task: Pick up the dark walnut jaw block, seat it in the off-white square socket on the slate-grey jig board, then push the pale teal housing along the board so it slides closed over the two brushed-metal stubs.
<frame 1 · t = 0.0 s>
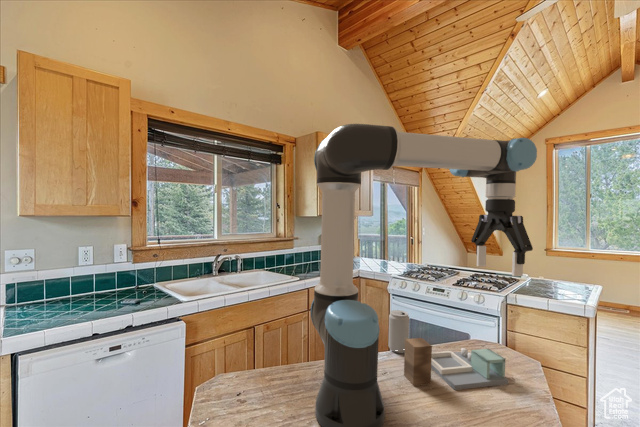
hand: (497, 270, 89), 28 cm above the countertop, fingers open, 13 cm apart
beverage can: (398, 350, 98), on the countertop
jig board: (461, 370, 86), on the countertop
housing: (487, 362, 83), point 4 cm above the countertop, slide at 0.0 cm
jaw block: (417, 379, 81), on the countertop
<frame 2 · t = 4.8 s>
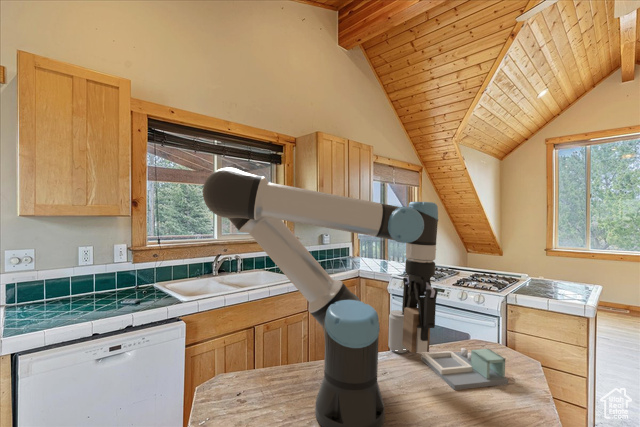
hand: (415, 346, 81), 9 cm above the countertop, fingers closed on jaw block, 5 cm apart
jaw block: (415, 347, 81), point 8 cm above the countertop, touching gripper
everything else where it was.
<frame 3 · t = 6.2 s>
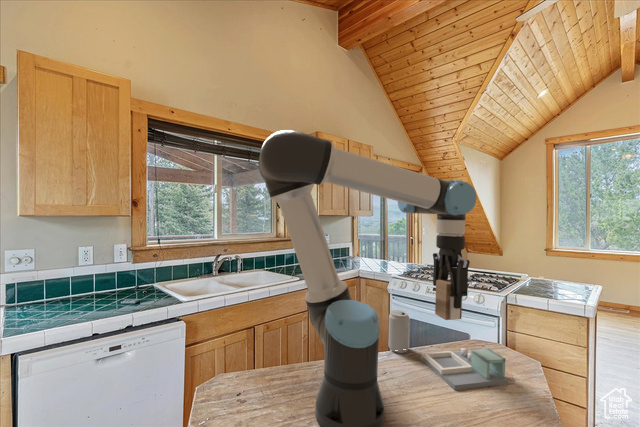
hand: (448, 315, 87), 15 cm above the countertop, fingers closed on jaw block, 5 cm apart
jaw block: (447, 316, 87), point 15 cm above the countertop, touching gripper
everything else where it was.
when the fingers open (3 cm above the countertop, at t = 8.2 s): jaw block drops 1 cm, resting on jig board.
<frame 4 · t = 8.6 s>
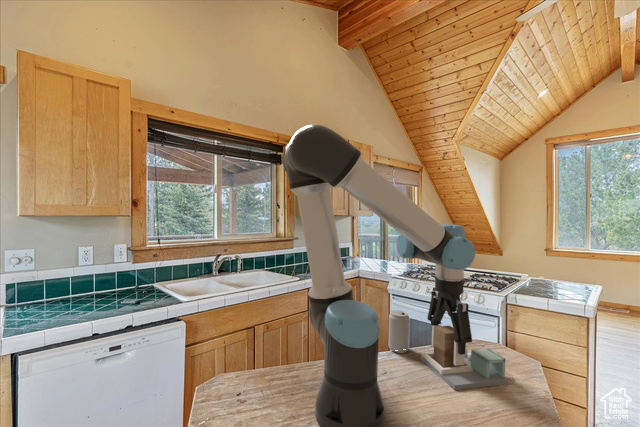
hand: (446, 355, 87), 4 cm above the countertop, fingers open, 10 cm apart
jaw block: (446, 363, 87), point 1 cm above the countertop, touching jig board
everything else where it was.
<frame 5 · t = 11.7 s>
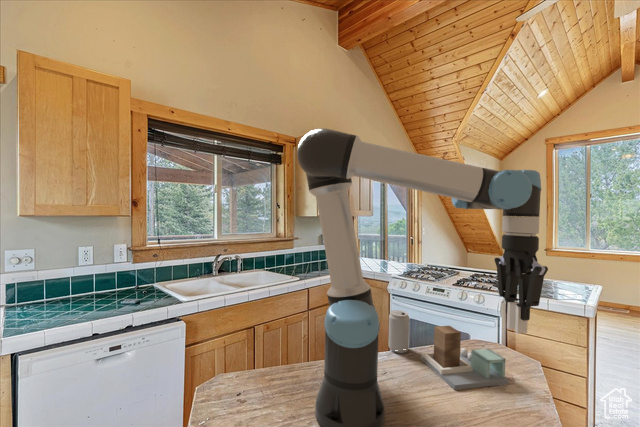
hand: (516, 330, 74), 16 cm above the countertop, fingers closed
nothing on the countertop moved.
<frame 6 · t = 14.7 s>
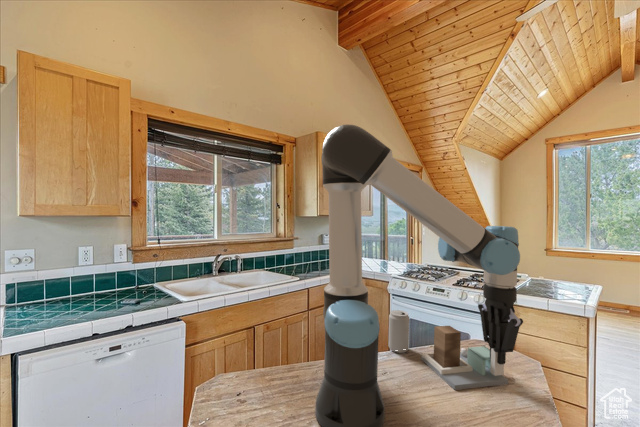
hand: (496, 373, 80), 3 cm above the countertop, fingers closed
housing: (483, 360, 84), point 4 cm above the countertop, slide at 1.5 cm, touching gripper
everything else where it was.
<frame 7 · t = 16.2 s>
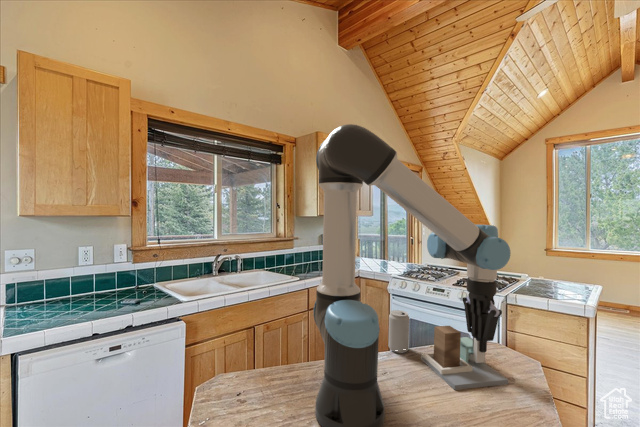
hand: (479, 361, 86), 3 cm above the countertop, fingers closed
housing: (467, 349, 91), point 4 cm above the countertop, slide at 8.0 cm, touching gripper
everything else where it was.
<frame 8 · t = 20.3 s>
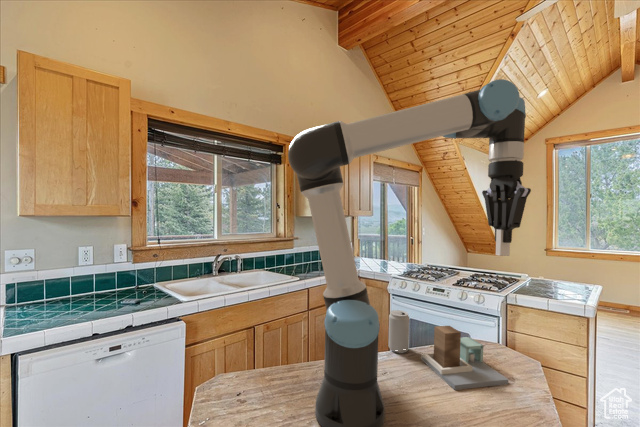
hand: (502, 255, 76), 34 cm above the countertop, fingers closed
housing: (467, 349, 91), point 4 cm above the countertop, slide at 8.0 cm
everything else where it was.
at the end: jaw block 0.0 cm from the target spot, point 1.2 cm above the countertop; jaw block tilted 0°; housing slide at 8.0 cm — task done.
